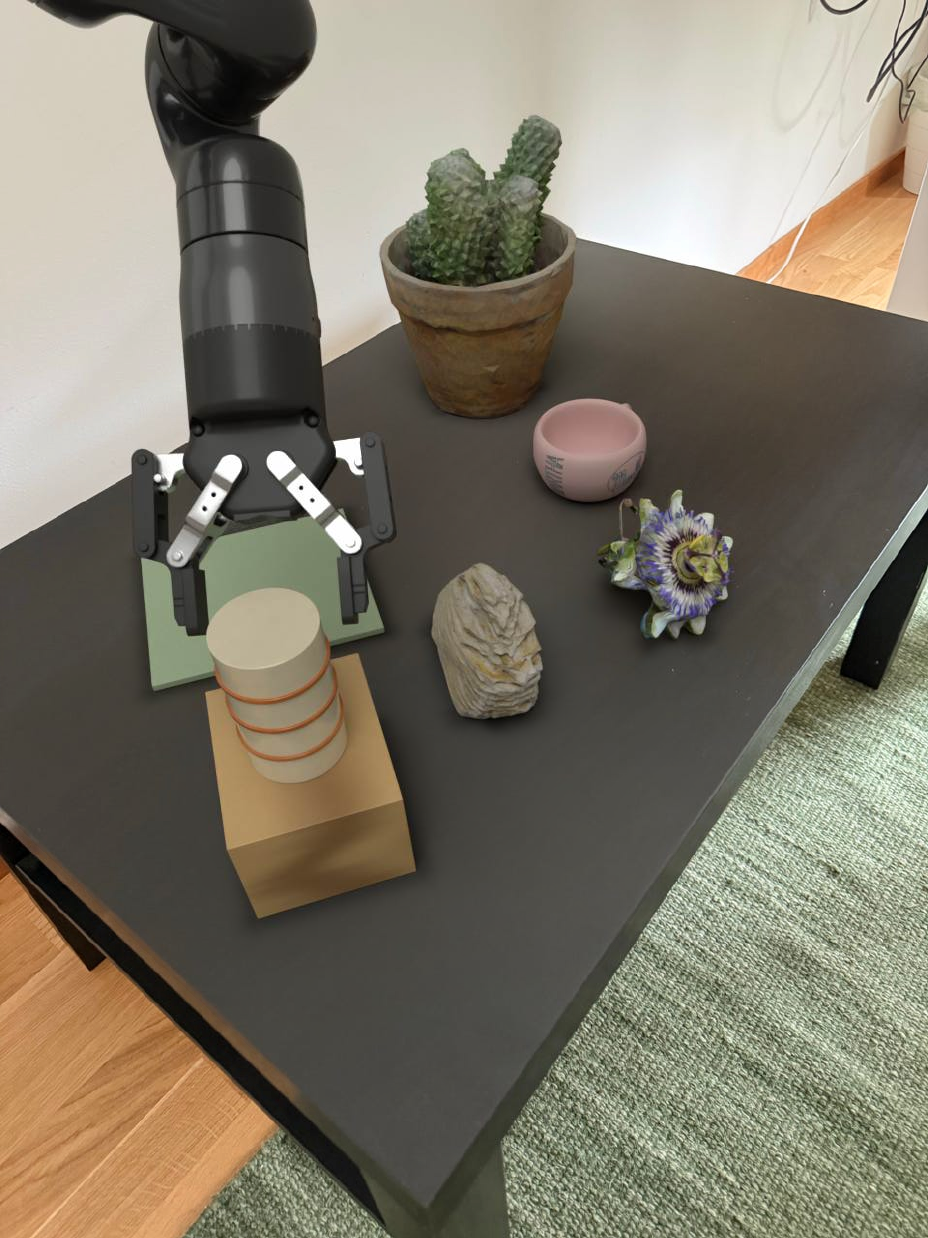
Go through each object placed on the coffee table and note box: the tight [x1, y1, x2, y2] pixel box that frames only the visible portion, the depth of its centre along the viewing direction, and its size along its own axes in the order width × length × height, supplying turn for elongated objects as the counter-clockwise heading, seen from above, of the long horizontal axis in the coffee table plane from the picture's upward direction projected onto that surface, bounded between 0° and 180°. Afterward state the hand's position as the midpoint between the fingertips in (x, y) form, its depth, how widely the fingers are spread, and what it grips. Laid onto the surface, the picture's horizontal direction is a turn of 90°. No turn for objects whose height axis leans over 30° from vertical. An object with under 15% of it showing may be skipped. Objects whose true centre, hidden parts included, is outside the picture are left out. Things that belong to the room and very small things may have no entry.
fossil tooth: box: [431, 562, 544, 720], centre depth 66 cm, size 12×6×15 cm
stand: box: [204, 652, 417, 920], centre depth 59 cm, size 10×12×8 cm
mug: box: [532, 398, 647, 503], centre depth 84 cm, size 12×10×6 cm
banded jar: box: [206, 588, 348, 783], centre depth 52 cm, size 6×6×10 cm
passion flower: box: [596, 489, 736, 641], centre depth 71 cm, size 11×11×12 cm
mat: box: [140, 508, 386, 692], centre depth 77 cm, size 18×16×1 cm
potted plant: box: [378, 114, 578, 419], centre depth 88 cm, size 18×19×25 cm
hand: (274, 630), depth 52 cm, fingers open, 8 cm apart
